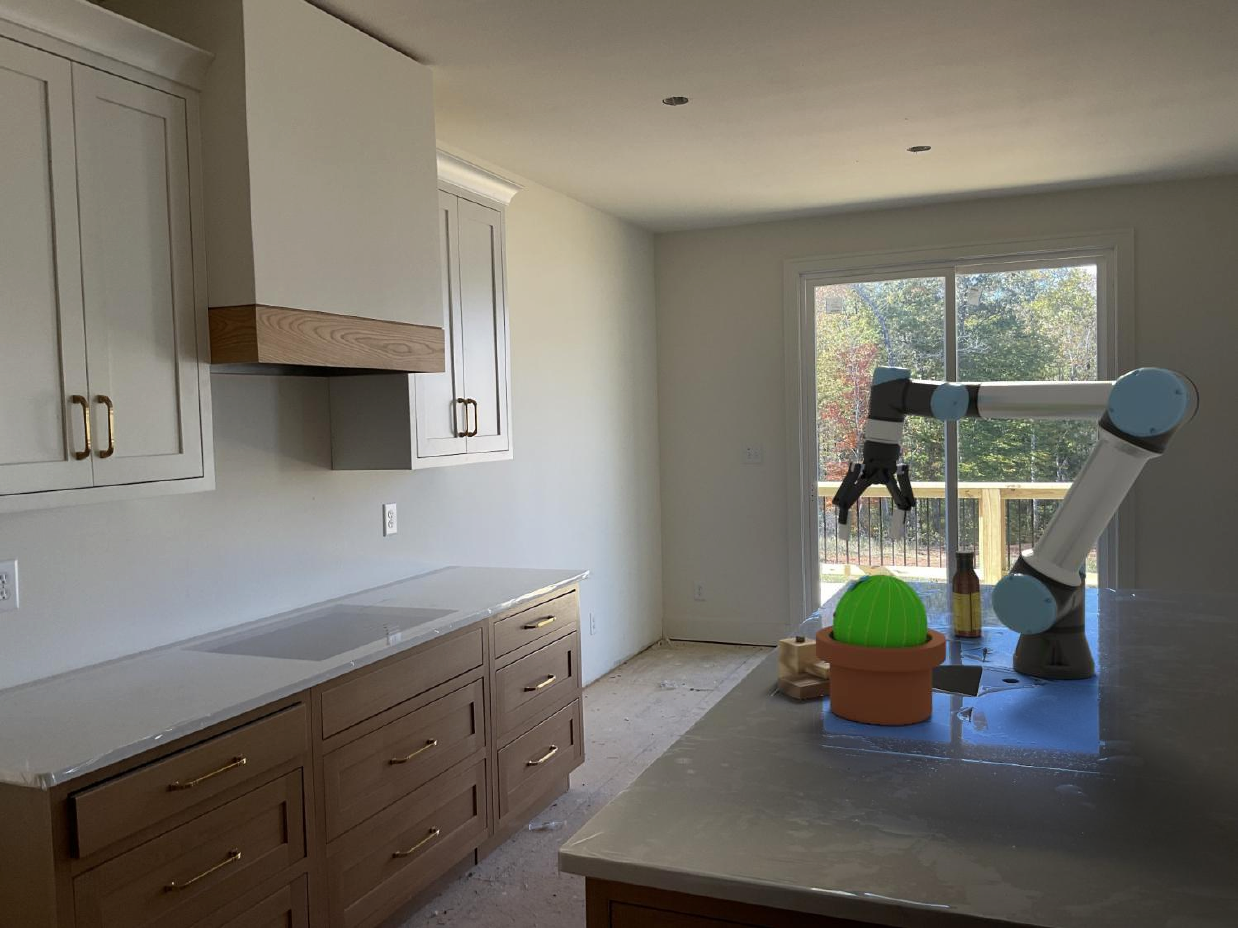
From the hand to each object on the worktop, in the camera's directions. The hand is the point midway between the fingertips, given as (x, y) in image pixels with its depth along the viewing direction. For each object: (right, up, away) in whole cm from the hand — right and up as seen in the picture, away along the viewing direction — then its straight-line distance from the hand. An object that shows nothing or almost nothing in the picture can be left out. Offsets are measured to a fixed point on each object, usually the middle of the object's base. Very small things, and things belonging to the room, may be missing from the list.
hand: (869, 539), depth 206 cm
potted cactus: (-7, -28, -34) cm, 45 cm away
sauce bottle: (+29, -24, +22) cm, 43 cm away
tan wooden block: (-16, -27, -17) cm, 36 cm away
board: (-11, -27, -19) cm, 35 cm away
